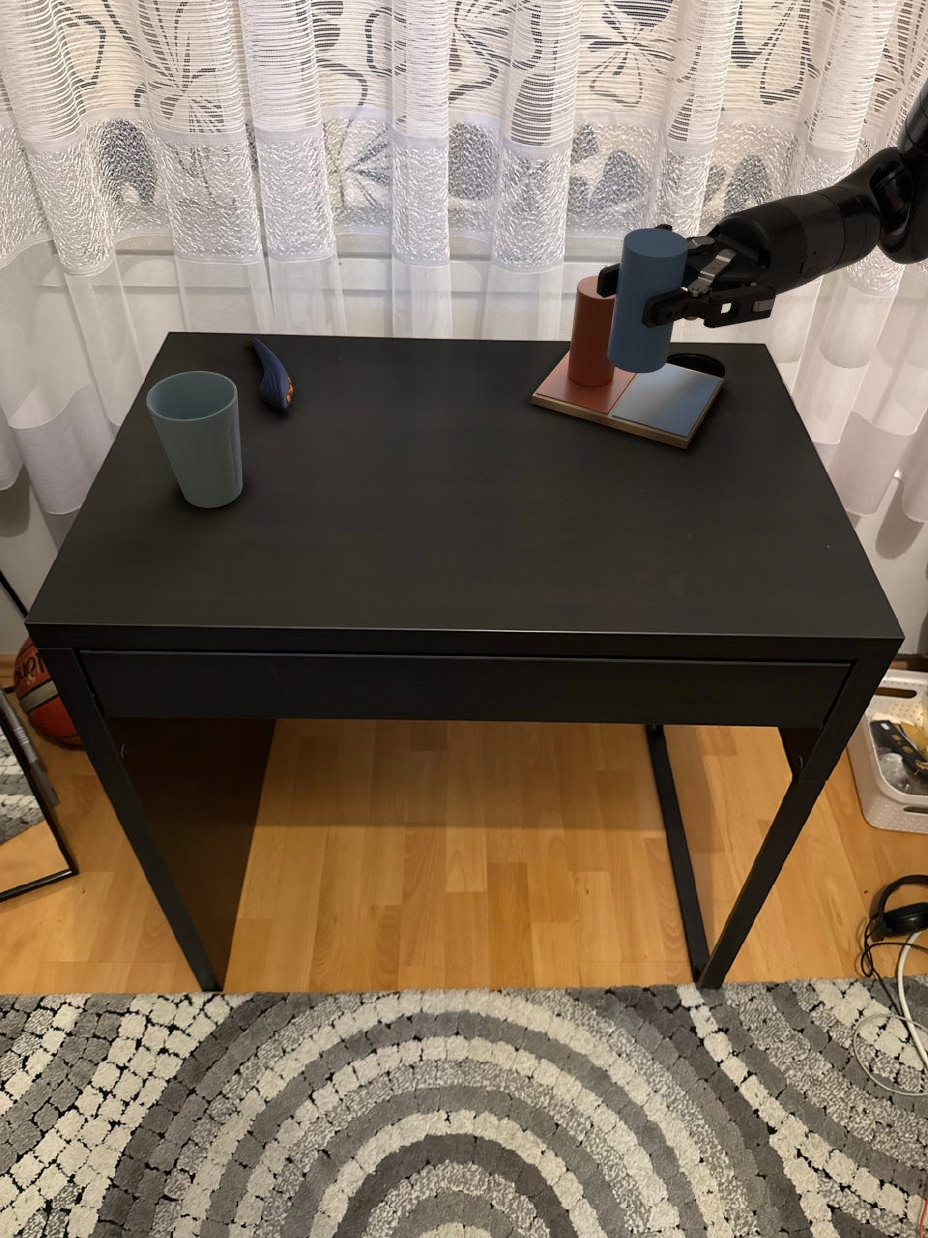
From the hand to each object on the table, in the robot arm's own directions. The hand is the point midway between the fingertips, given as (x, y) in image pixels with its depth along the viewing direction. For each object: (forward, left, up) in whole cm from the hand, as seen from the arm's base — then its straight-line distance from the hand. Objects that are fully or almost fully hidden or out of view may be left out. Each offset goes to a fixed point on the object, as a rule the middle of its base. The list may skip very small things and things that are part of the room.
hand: (623, 299), depth 73 cm
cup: (+32, +16, -20) cm, 41 cm away
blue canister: (-1, -2, -6) cm, 7 cm away
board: (+3, -18, -20) cm, 27 cm away
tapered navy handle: (+38, -2, -20) cm, 43 cm away
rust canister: (+8, -18, -19) cm, 27 cm away
